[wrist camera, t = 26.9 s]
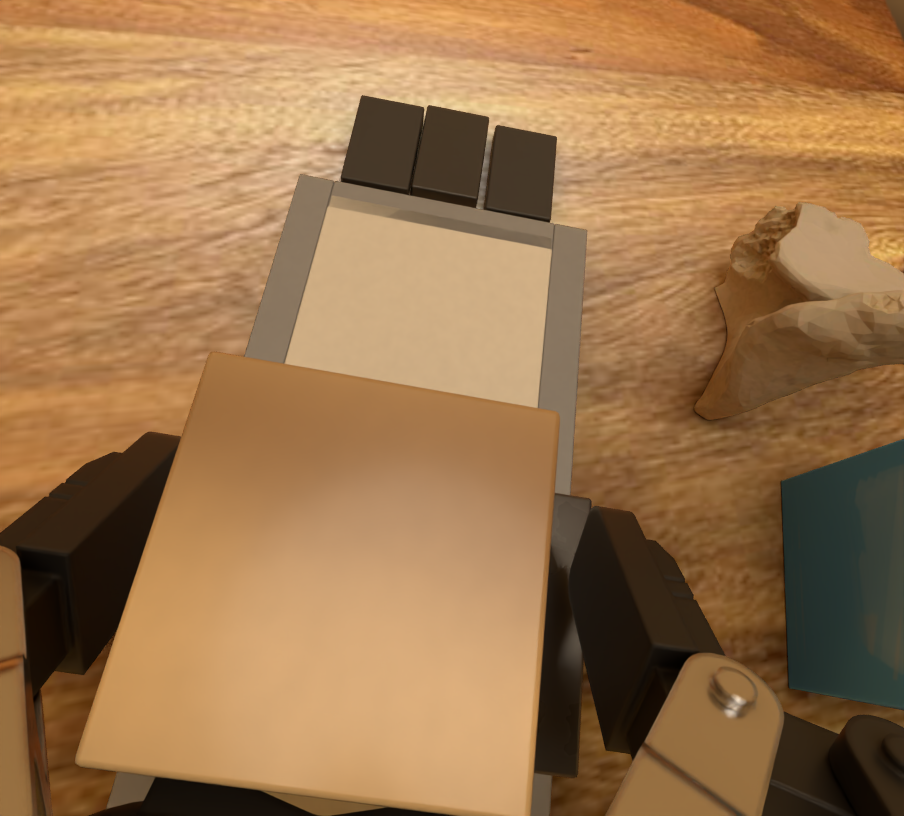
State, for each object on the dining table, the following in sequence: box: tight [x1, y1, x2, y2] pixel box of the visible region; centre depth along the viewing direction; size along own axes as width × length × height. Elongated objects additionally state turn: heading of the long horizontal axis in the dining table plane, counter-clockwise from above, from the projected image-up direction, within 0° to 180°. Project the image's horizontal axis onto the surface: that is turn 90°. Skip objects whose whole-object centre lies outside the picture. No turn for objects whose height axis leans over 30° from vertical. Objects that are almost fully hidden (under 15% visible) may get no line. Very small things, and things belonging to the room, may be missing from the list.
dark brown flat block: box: [484, 125, 557, 223], centre depth 21 cm, size 4×2×1 cm, turn 173°
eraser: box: [75, 352, 591, 816], centre depth 10 cm, size 6×10×10 cm, turn 82°
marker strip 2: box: [411, 105, 489, 208], centre depth 21 cm, size 4×2×1 cm, turn 172°
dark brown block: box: [341, 95, 424, 195], centre depth 21 cm, size 4×2×1 cm, turn 173°
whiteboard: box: [106, 174, 587, 816], centre depth 17 cm, size 20×10×1 cm, turn 172°
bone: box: [694, 202, 904, 420], centre depth 16 cm, size 9×6×10 cm
